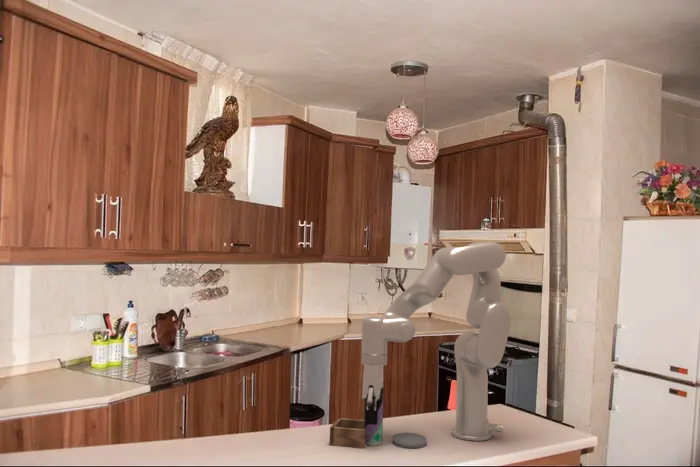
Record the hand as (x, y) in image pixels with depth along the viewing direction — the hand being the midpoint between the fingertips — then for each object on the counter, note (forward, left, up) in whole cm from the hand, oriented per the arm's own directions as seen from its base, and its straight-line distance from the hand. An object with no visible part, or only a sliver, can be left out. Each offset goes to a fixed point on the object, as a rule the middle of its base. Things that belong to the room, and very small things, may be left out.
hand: (373, 420), depth 165 cm
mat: (-10, -3, -6) cm, 13 cm away
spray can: (0, 0, -7) cm, 7 cm away
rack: (+7, 0, -6) cm, 9 cm away
